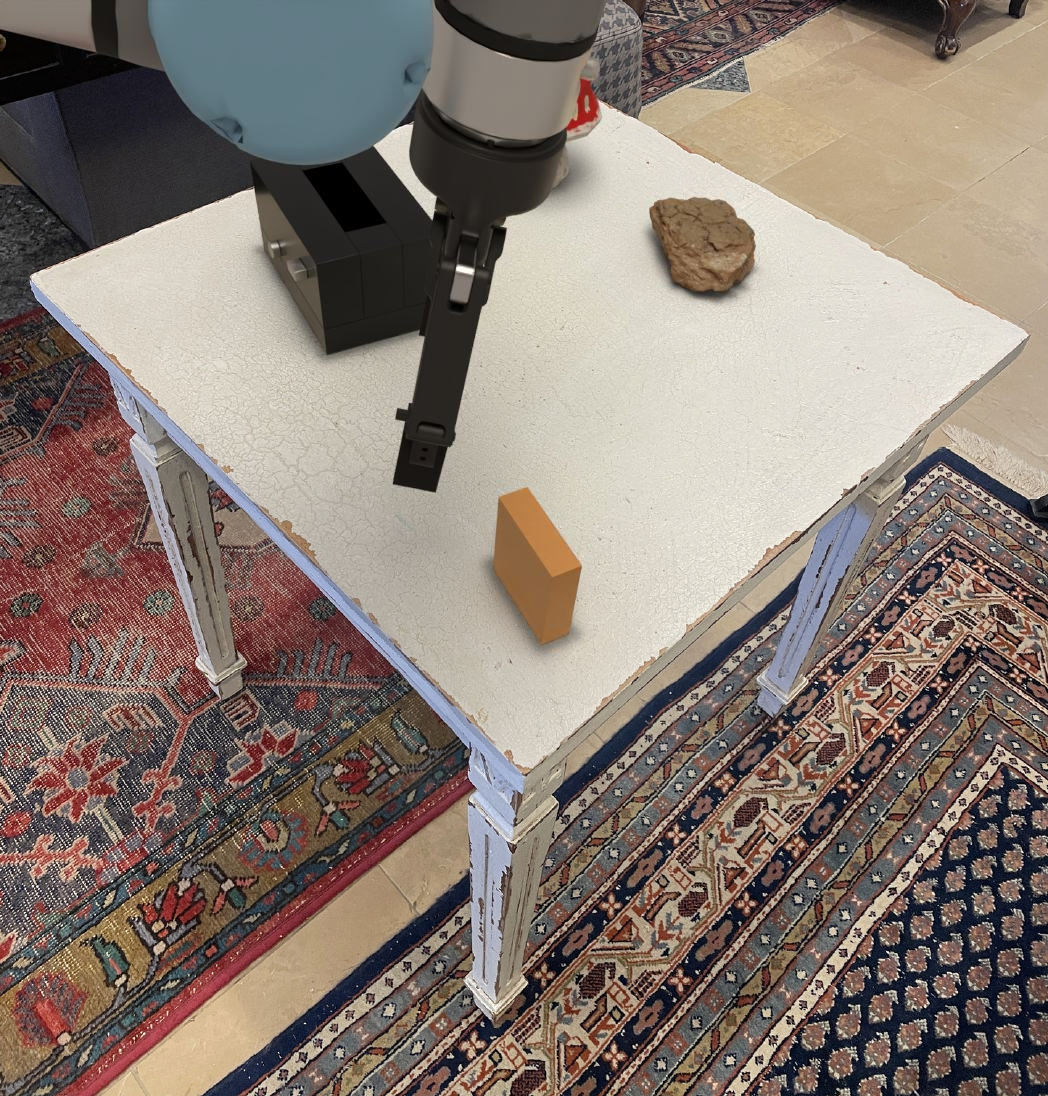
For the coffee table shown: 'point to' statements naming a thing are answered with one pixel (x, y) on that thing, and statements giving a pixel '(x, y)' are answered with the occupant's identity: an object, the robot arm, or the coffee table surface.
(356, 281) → the toaster
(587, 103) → the decorative mushroom
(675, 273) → the rock
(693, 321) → the coffee table surface
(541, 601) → the toast
